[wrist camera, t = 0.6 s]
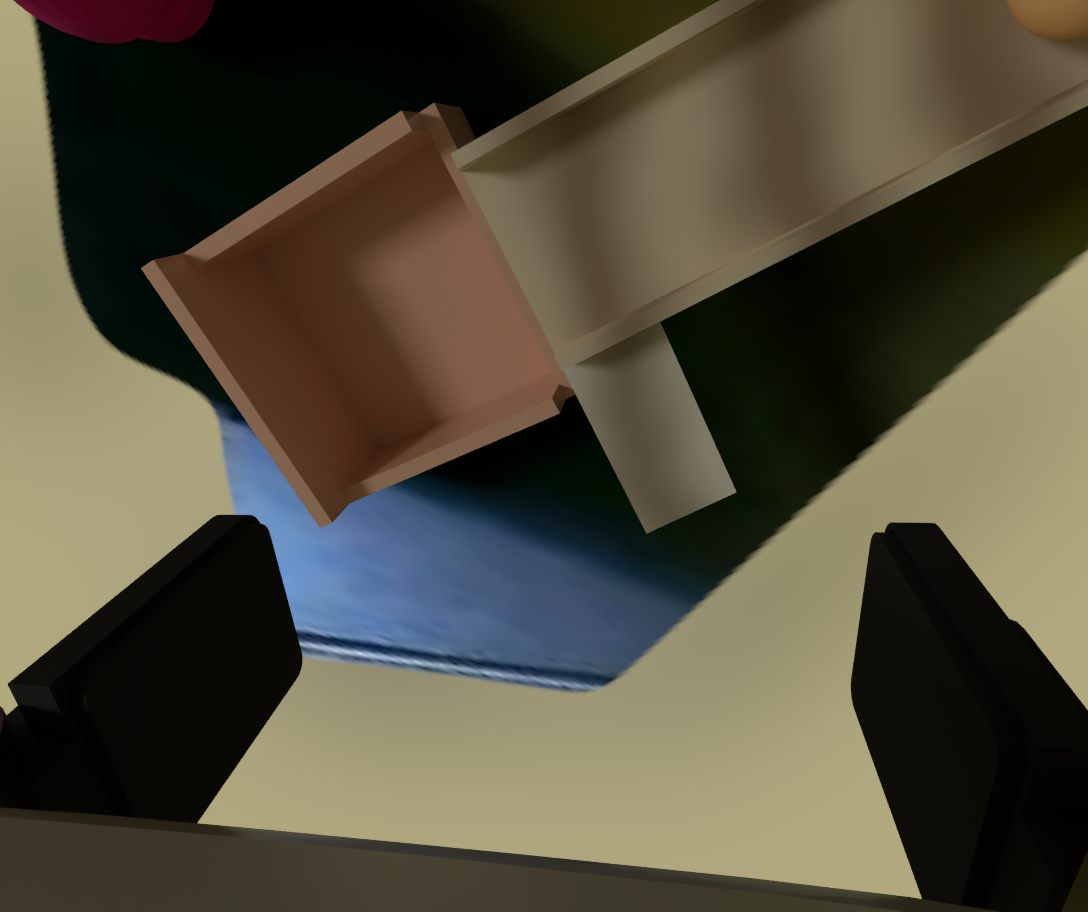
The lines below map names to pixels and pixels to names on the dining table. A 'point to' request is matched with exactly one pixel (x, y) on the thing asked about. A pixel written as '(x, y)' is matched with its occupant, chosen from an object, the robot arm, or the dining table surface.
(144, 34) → the pepper mill
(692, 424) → the tray
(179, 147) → the dining table surface
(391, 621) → the dining table surface
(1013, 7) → the ball
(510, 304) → the pink open box
